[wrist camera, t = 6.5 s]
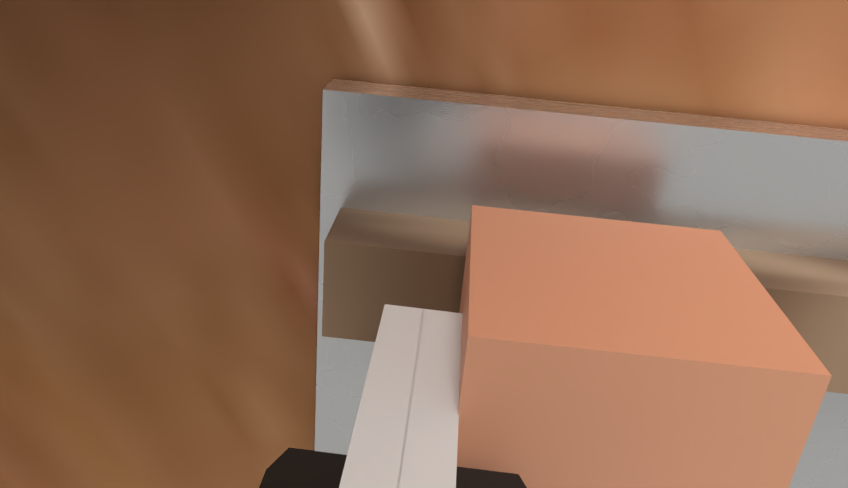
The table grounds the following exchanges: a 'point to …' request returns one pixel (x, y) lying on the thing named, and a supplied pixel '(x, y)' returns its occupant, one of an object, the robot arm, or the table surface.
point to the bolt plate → (577, 196)
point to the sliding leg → (626, 358)
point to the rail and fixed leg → (444, 269)
